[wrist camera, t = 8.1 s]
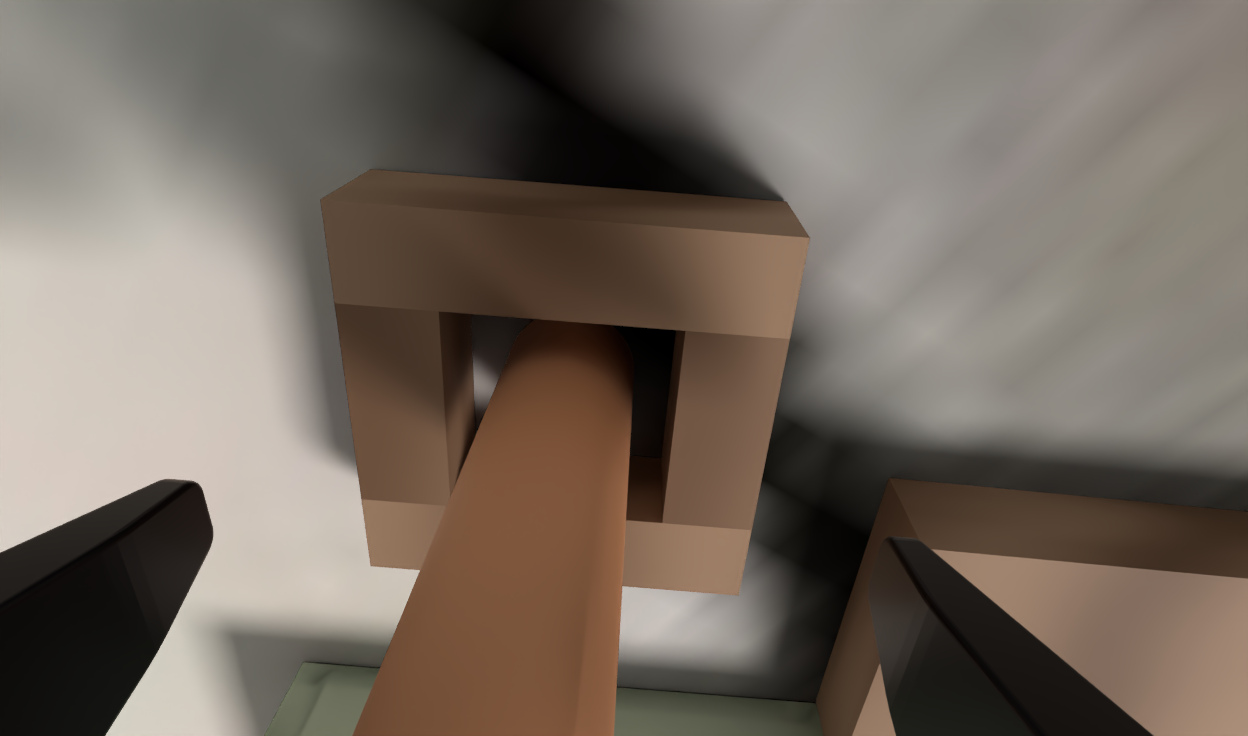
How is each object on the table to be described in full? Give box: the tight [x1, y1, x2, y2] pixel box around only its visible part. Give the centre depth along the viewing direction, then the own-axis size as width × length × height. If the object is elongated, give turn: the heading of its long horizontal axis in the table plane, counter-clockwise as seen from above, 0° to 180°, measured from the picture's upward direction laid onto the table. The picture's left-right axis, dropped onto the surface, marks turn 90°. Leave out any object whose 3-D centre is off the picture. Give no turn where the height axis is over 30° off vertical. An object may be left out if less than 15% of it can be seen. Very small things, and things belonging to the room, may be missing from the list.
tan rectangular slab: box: [816, 478, 1248, 736], centre depth 15 cm, size 10×7×2 cm
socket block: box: [320, 169, 810, 595], centre depth 12 cm, size 7×7×2 cm
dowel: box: [352, 319, 634, 736], centre depth 9 cm, size 2×2×9 cm
